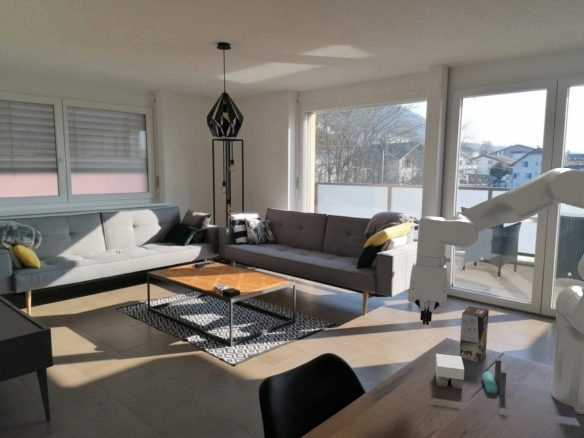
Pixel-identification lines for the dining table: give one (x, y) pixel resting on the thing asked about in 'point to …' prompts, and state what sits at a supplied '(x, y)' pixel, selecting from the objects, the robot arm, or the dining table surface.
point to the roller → (489, 382)
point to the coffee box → (474, 333)
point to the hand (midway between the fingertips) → (425, 322)
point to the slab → (449, 366)
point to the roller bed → (458, 384)
